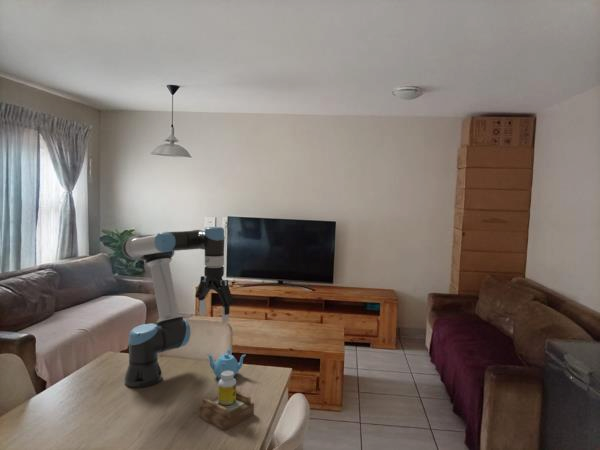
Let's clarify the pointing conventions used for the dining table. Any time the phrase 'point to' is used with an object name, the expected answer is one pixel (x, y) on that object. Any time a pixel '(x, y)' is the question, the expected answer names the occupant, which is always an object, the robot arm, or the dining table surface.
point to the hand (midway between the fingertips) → (213, 319)
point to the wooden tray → (227, 411)
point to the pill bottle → (227, 389)
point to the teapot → (225, 364)
